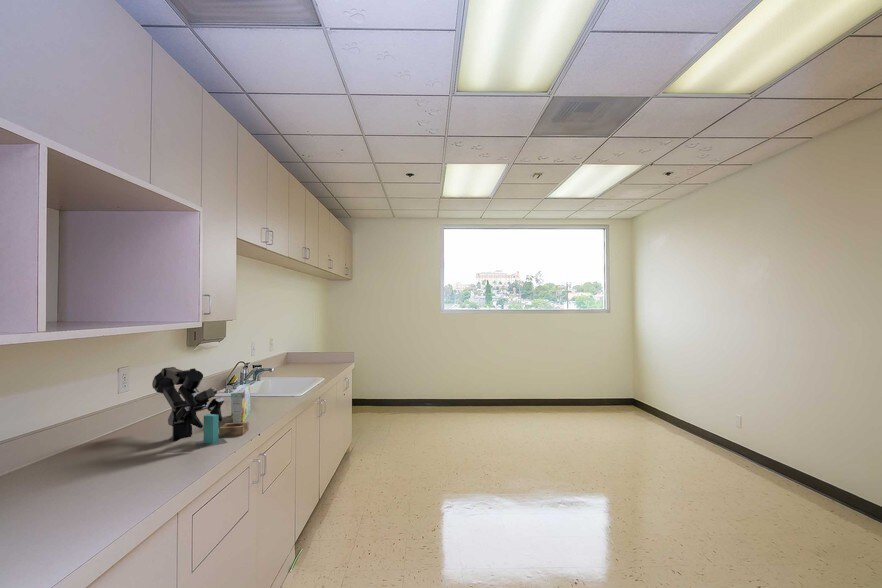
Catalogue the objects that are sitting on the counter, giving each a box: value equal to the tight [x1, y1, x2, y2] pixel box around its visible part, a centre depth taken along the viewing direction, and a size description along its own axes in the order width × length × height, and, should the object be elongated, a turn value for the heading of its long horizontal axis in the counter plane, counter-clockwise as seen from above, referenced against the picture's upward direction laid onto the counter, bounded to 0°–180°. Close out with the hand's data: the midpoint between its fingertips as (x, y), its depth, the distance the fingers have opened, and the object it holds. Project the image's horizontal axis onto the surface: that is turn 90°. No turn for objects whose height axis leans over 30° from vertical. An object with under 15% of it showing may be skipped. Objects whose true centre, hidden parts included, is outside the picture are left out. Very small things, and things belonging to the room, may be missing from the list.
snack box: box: [230, 383, 252, 423], centre depth 194 cm, size 21×6×15 cm, turn 17°
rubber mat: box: [194, 436, 228, 449], centre depth 157 cm, size 10×10×1 cm
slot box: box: [218, 421, 250, 437], centre depth 169 cm, size 10×7×4 cm
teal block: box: [203, 413, 219, 444], centre depth 157 cm, size 5×2×11 cm, turn 73°
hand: (212, 424), depth 157 cm, fingers open, 9 cm apart
